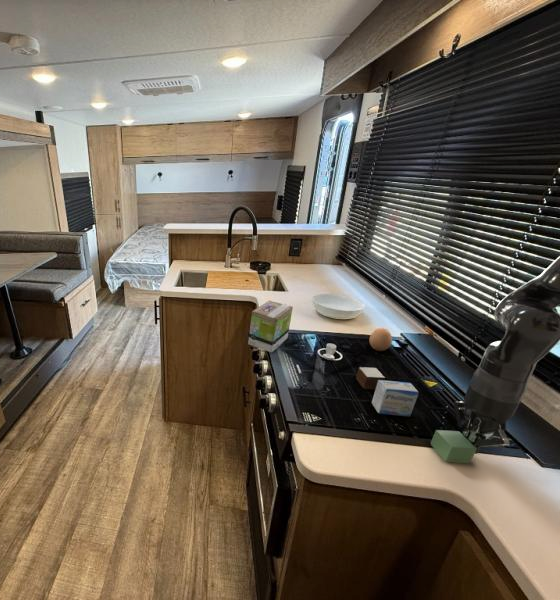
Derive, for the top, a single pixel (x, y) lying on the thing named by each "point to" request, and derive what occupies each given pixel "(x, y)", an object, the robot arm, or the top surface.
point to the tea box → (270, 325)
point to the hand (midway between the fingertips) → (467, 450)
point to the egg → (380, 339)
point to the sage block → (453, 446)
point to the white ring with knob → (329, 352)
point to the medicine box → (394, 398)
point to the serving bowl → (337, 306)
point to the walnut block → (369, 377)
